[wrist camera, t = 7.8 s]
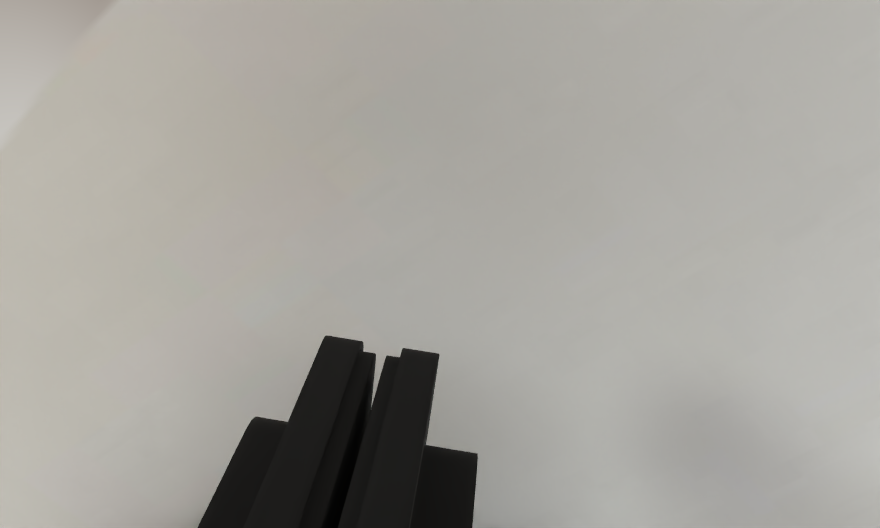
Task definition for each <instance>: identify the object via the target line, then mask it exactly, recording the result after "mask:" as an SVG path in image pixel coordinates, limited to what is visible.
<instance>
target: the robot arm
mask: <svg viewBox="0 0 880 528" xmlns="http://www.w3.org/2000/svg"><path fill="white" fill-rule="evenodd" d="M375 361H376V354H375V353H368V352H363V342H362V341H357V340H351V339H345V338H338V337H332V336H325V337H324V339H323V341H322V343H321V345H320V348H319V350H318V353H317V355H316V357H315V360H314V362H313V364H312V367H311V369H310V371H309V374H308V376H307V379H306V381H305V383H304V386H303V388H302V390H301V393H300V395H299V397H298V400H297V402H296V404H295V407H294V409H293V412H292V414H291V416H290V419H289V421H288V422H284V421H278V420H272V419H266V418H260V417H255V418H254V419H252V420H251V422H250V424H249V425H248V427H247V429H246V431H245V433H244V435H243V437H242V439H241V441H240V443H239V445H238V447H237V449H236V451H235V453H234V455H233V457H232V459H231V461H230V463H229V465H228V467H227V469H226V471H225V473H224V475H223V477H222V479H221V481H220V483H219V485H218V487H217V489H216V492H215V494H214V496H213V498H212V500H211V502H210V504H209V506H208V508H207V510H206V512H205V514H204V516H203V518H202V520H201V522H200V524H199V526H198V528H472V523H473V510H474V498H475V486H476V474H477V459H478V457H477V454H476V453H470V452H464V451H458V450H452V449H446V448H440V447H434V446H428V445H426V440H427V434H428V427H429V420H430V414H431V407H432V400H433V394H434V387H435V381H436V374H437V367H438V361H439V354H437V353H431V352H425V351H418V350H412V349H406V348H403V349H402V352H401V356H400V358H399V357H393V356H386V359H385V362H384V366H383V369H382V373H381V376H380V380H379V383H378V387H377V390H376V394H375V398H374V401H373V405H372V408H371V403H372V393H373V382H374V372H375Z"/></svg>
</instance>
